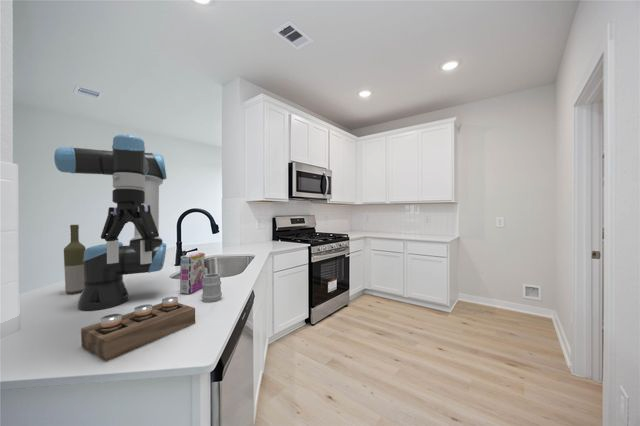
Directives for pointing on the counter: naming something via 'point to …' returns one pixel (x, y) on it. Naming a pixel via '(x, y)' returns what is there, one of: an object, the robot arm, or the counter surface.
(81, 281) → the bottle
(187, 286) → the candy bar box
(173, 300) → the knob
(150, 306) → the knob
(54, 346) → the counter surface
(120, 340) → the wooden candle holder
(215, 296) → the mug
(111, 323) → the knob
